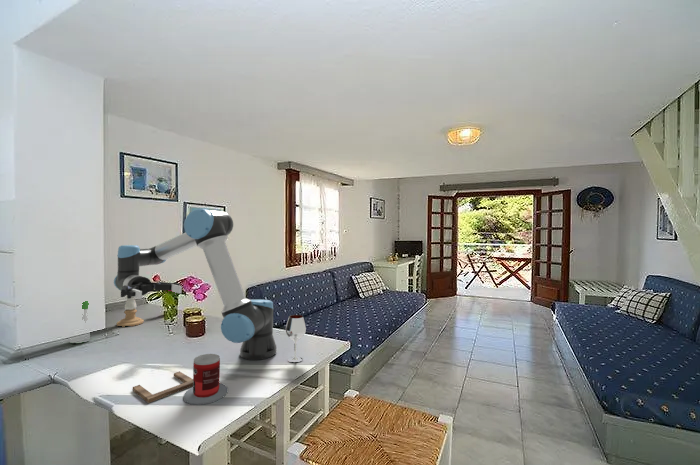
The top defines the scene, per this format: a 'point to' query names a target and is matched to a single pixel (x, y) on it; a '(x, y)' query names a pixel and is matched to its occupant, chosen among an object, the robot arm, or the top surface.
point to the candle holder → (130, 314)
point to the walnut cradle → (152, 397)
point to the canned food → (206, 375)
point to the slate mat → (195, 400)
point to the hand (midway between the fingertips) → (161, 292)
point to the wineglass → (295, 330)
